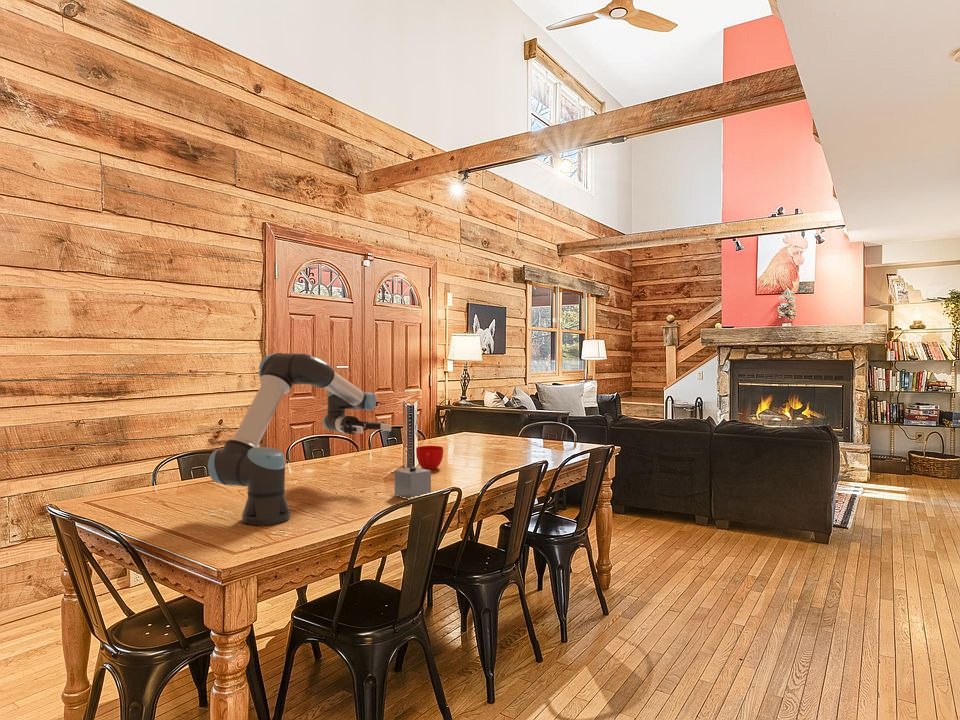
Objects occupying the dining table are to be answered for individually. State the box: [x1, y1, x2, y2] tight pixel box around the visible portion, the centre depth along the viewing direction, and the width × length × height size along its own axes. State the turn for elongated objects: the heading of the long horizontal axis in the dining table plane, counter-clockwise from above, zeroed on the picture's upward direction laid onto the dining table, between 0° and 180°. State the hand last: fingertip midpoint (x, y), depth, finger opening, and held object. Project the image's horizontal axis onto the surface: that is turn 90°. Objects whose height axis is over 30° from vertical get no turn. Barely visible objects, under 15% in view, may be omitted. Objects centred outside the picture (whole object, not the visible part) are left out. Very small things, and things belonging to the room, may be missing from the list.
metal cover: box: [394, 466, 432, 500], centre depth 236 cm, size 10×10×11 cm
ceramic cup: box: [415, 445, 444, 471], centre depth 288 cm, size 13×17×10 cm
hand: (376, 429), depth 243 cm, fingers open, 13 cm apart
